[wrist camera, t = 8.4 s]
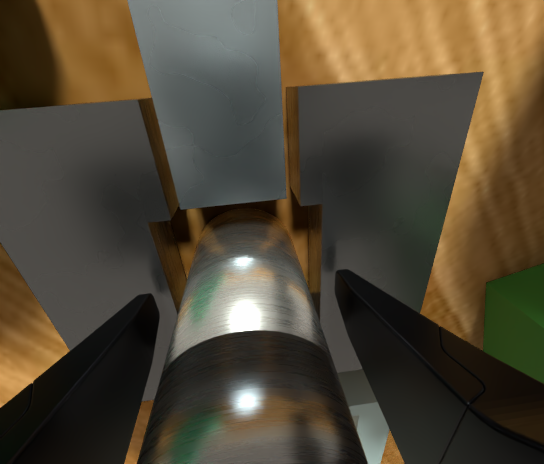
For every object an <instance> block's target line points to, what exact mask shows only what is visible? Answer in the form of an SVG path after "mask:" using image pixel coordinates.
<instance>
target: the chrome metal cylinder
mask: <svg viewBox="0 0 544 464" xmlns="http://www.w3.org/2000/svg"><path fill="white" fill-rule="evenodd" d="M137 464H368V461H367V458H366V455H365V452H364V449H363V447H362V444H361V441H360V438H359V435H358V432H357V429H356V426H355V423H354V420H353V417H352V414H351V412H350V409H349V406H348V403H347V400H346V397H345V394H344V391H343V388H342V385H341V382H340V379H339V377H338V374H337V371H336V368H335V365H334V362H333V359H332V356H331V353H330V350H329V347H328V344H327V342H326V339H325V336H324V333H323V330H322V327H321V324H320V321H319V318H318V315H317V312H316V309H315V307H314V304H313V301H312V298H311V295H310V292H309V289H308V286H307V283H306V280H305V277H304V274H303V271H302V269H301V266H300V263H299V260H298V257H297V254H296V251H295V248H294V245H293V242H292V239H291V236H290V234H289V232H288V230H287V229H286V227H285V226H284V225H283V223H282V222H281V221H280V220H278V219H277V218H276V217H274V216H273V215H271V214H269V213H267V212H265V211H262V210H258V209H252V208H239V209H233V210H230V211H226V212H224V213H222V214H220V215H218V216H216V217H215V218H214V219H212V220H211V221H210V222H209V223H208V224H207V225H206V226H205V228H204V229H203V230H202V232H201V234H200V236H199V240H198V243H197V247H196V250H195V254H194V257H193V261H192V265H191V268H190V272H189V276H188V279H187V283H186V287H185V290H184V294H183V298H182V301H181V305H180V308H179V312H178V316H177V319H176V323H175V327H174V330H173V334H172V338H171V341H170V345H169V348H168V352H167V356H166V359H165V363H164V367H163V370H162V374H161V378H160V381H159V385H158V389H157V392H156V396H155V399H154V403H153V407H152V410H151V414H150V418H149V421H148V425H147V429H146V432H145V436H144V440H143V443H142V447H141V450H140V454H139V458H138V461H137Z"/></svg>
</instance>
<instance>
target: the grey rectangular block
mask: <svg viewBox="0 0 544 464" xmlns="http://www.w3.org/2000/svg"><path fill="white" fill-rule="evenodd" d="M128 4H129V8H130V12H131V16H132V20H133V24H134V28H135V32H136V36H137V40H138V44H139V48H140V52H141V56H142V60H143V64H144V67H145V71H146V75H147V79H148V83H149V87H150V91H151V95H152V99H153V103H154V107H155V111H156V115H157V119H158V123H159V127H160V131H161V134H162V138H163V142H164V146H165V150H166V154H167V158H168V162H169V166H170V170H171V174H172V178H173V182H174V186H175V190H176V194H177V198H178V201H179V205H180V209H181V210H182V209H192V208H201V207H211V206H220V205H230V204H239V203H249V202H258V201H268V200H277V199H287V198H286V177H285V156H284V135H283V113H282V92H281V71H280V50H279V29H278V7H277V0H128Z"/></svg>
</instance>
